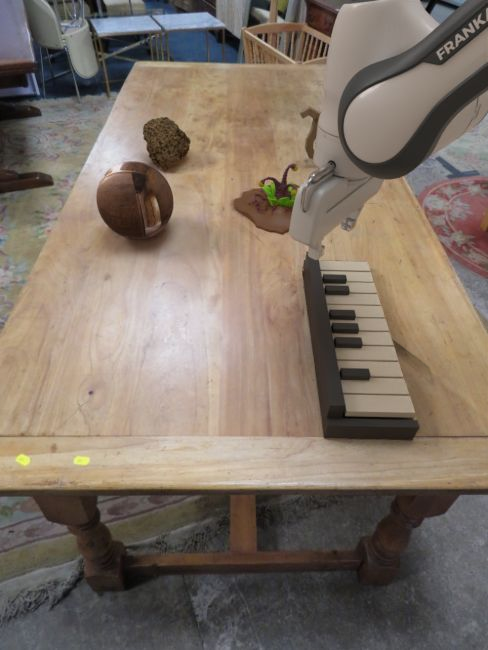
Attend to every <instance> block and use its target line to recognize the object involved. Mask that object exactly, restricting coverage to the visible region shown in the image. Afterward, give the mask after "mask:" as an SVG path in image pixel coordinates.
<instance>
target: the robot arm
mask: <svg viewBox="0 0 488 650" xmlns="http://www.w3.org/2000/svg"><path fill="white" fill-rule="evenodd" d="M322 86H323V87H322V89H323V97H324V98H323V107H322V109H321V111H320V112H321V114H320V116H319V120H318V126H317V134H316V139H315V141H314V148H313V149H314V156H313V159H312V161H313V164H314V166H316V167H317V168H318V169H317V170H314V171H312V172H311V173H310V174H309V175H308V178H307V179H306V180H305V181H303V182H302V183H301V184H300V185H299V186H300V187H299V189H298V191H297V194H296V197H295V201H294V206H293V211H292V216H291V222H290V228H289V232H288V233H289V236H290V237H291V238H290V239H292V240H294V241H296V242H298V243H300V244H303V245H305V246H307V247H308V248H307V249H308V250H307V251H308V256H309V257H310V258H312V259H314V260H318V259H319V260H320V259H321V257H323V256H324V254H325V249H326V246H325V245H324V244H322V241H324V239H325V237H326V236H327V235H329V234H330V233H332V231H334V230H335V229H336V228H337V227H338V226H340V229H341V230H343V231H346V232H348V233H349V232H351V231H353V229H355V228H356V226H357V222H358V218H359V217H360V214H361V212H362V210H363V208H364V207H365V204H366V203H367V202H368V201H369V200H371V199H372V198H373V197H375V196H376V195H377V194H378V193H379V191H380V190H381V188H382V186H383V184H384V182H385V180H387V181H389V180H397V179H400V178H402V177H405V176H407V175H408V174H410V173H412V172H413V171H414V170H415V169H417V168H418V167H419V166H421V165H422V164H423V163H424V162H426V161H427V160H428V158H430V157H432V156H434V155H435V154H436V153H438V152H440V151H441V150H442V149H445V148H446V147H447V146H449V145H450V144H452V143H454V142H455V141H456V140H458V139H460V138H461V137H463V136H464V135H465V134H467V133H469V131H471V130H473V128H475V127H476V126H478V125H479V124H480V123H481V122H482V121H483V120H484V119H485V117H487V115H488V0H465V1H464V2H463V3H461V5H459V6H458V7H457V8H456V9H455V10H454V11H453V12H452V13H450V14H449V15H448V16H447V17H446V18H445V19H443V20H442V22H441V23H439V22H438V21H436V19H435V18H433V16H432V15H431V14H430V13H429V12H428V11H427V10H426V9H425V8H424V6H423V4H422V1H421V0H346V2H344V3H343V4H342V5H341V7H340V9H339V10H338V13H337V15H336V18H335V21H334V24H333V27H332V31H331V35H330V40H329V44H328V49H327V55H326V60H325V67H324V75H323V83H322ZM340 224H341V225H340Z"/></svg>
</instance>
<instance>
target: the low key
mask: <svg viewBox="0 0 488 650" xmlns="http://www.w3.org/2000/svg"><path fill="white" fill-rule="evenodd" d="M358 261H359V260H324V261H319V264H320V269H321V271H339V272H371V267H370V264H369V262H368V261H367V262H358Z"/></svg>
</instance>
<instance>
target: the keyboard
mask: <svg viewBox="0 0 488 650" xmlns="http://www.w3.org/2000/svg"><path fill="white" fill-rule="evenodd" d="M319 261H325V260H321V259H320V258H319V259H318V260H314V259H312V258H310V257H309V256H308V250H307V251H306V252H305V258H304V259H303V264H302V269H303V270H301V271H302V272H301V275H302V283H303V291H304V296H305V305H306V311H307V312H306V313H307V321H308V328H309V336H310V342H311V352H312V358H313V366H314V374H315V381H316V389H317V395H318V396H317V397H318V405H319V411H320V420H321V428H322V432H323V433H322V434H323V439H335V440H336V439H338V440H339V439H341V440H381V441H382V440H385V441H386V440H387V441H413V440H414V439H415V438H416V436H417V433H418V432H419V430H420V428H421V427H420V423H419V420H418V419H414V417H413V418H404V417H357V416H345V414H344V408H345V401H344V396H343V395H344V394H345V395H392V396H410V392H409V389H408V386H407V383H406V380H405V377H404V373H403V371H402V367H401V363H400V361H399V357H398V354H397V351H396V347H395V344H394V341H393V337H392V335H391V333H390V329H389V325H388V323H387V322H388V321H387V319H386V316H385V312H384V310H383V306H382V303H381V300H380V297H379V294H378V290H377V287H376V283H375V281H374V277H373V275H372V272H371V271H370V272H339V271H321V269H320V264H319ZM357 261H358V262H368V261H367V260H365V261H363V260H362V261H361V260H357Z"/></svg>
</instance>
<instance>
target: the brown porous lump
mask: <svg viewBox="0 0 488 650" xmlns="http://www.w3.org/2000/svg"><path fill="white" fill-rule="evenodd" d="M142 134H143V141H145V142H146V147H145V149H146V151H147V154H148V157H149V160H150V161H151V162H152V163H153V165H155V166H156V167H157V168H158V169H159V170H161V171H167V170H169V168H170V167H172V166H173V165H174V164H176V163H178V162H179V161H180V160H181V159H183V158H185V157H186V156H187V154H188V153H189V151H190V148H191V138H189V137H188V136H187V134H186V132H185V131H183V130H182V129H181V128H180V126H179V125H178V124H177V123H176V122H175V121H174V120H173V119H172V120H171V119H170V118H169V117H168V116H165V117H164V116H161V117H155V118H151V119H150V120H148V121H147V122H146V123H145V124H144V123H143V125H142ZM184 156H185V157H184ZM182 157H183V158H182Z"/></svg>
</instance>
